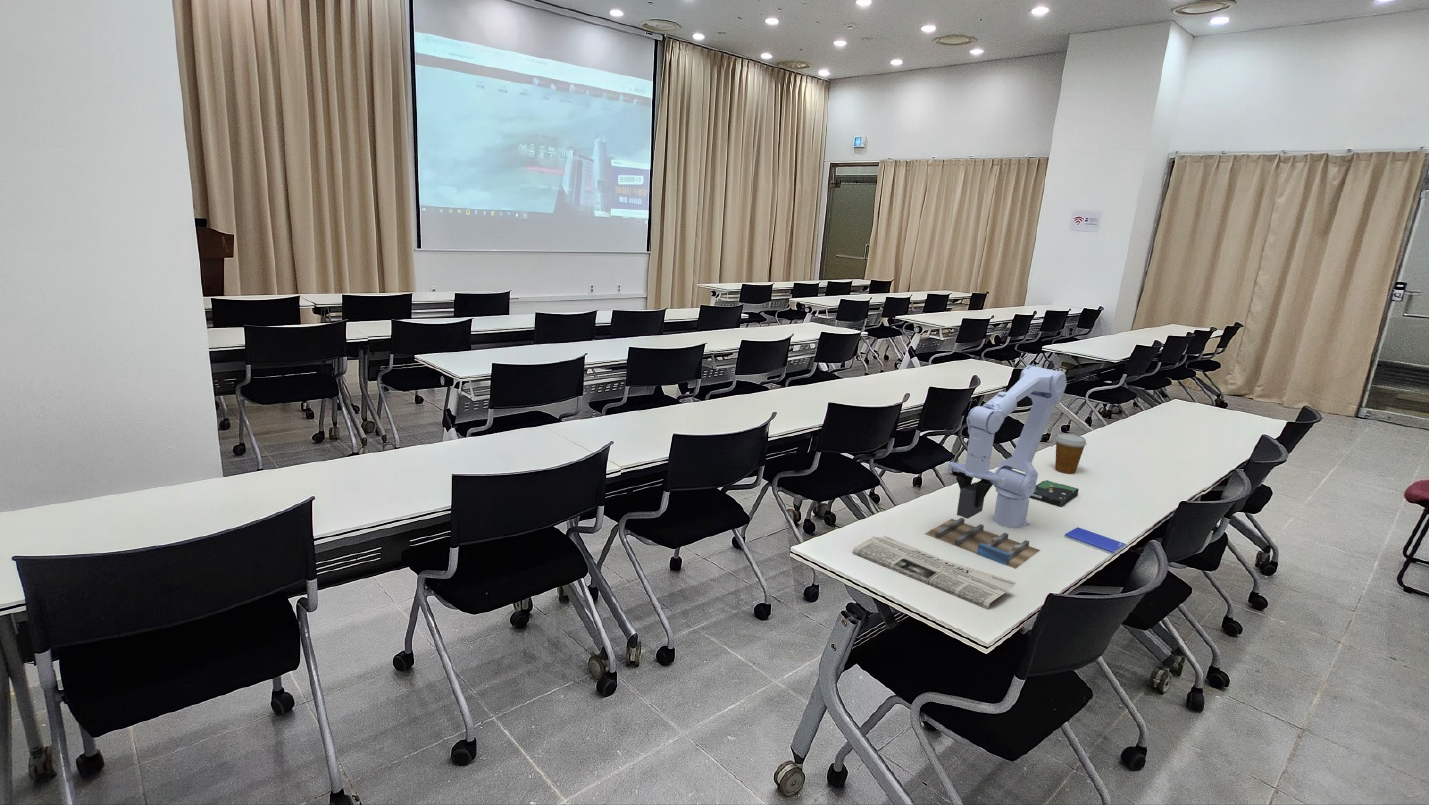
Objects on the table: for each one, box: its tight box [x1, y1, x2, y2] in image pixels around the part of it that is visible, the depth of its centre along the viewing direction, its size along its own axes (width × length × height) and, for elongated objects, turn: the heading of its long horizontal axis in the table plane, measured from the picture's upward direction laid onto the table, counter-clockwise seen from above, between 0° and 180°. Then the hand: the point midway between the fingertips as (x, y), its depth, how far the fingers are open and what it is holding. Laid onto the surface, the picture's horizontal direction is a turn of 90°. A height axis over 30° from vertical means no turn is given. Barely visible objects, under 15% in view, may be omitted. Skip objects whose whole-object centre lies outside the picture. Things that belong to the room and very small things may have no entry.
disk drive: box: [1028, 479, 1079, 508], centre depth 215 cm, size 10×3×15 cm
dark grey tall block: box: [956, 482, 985, 519], centre depth 180 cm, size 8×3×7 cm, turn 134°
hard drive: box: [1064, 526, 1128, 556], centre depth 185 cm, size 2×8×12 cm
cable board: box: [924, 517, 1041, 569], centre depth 180 cm, size 15×24×3 cm, turn 45°
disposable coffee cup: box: [1054, 432, 1087, 475], centre depth 238 cm, size 10×10×12 cm
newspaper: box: [852, 535, 1017, 610], centre depth 164 cm, size 35×12×4 cm, turn 47°
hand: (971, 503), depth 180 cm, fingers closed on dark grey tall block, 3 cm apart
